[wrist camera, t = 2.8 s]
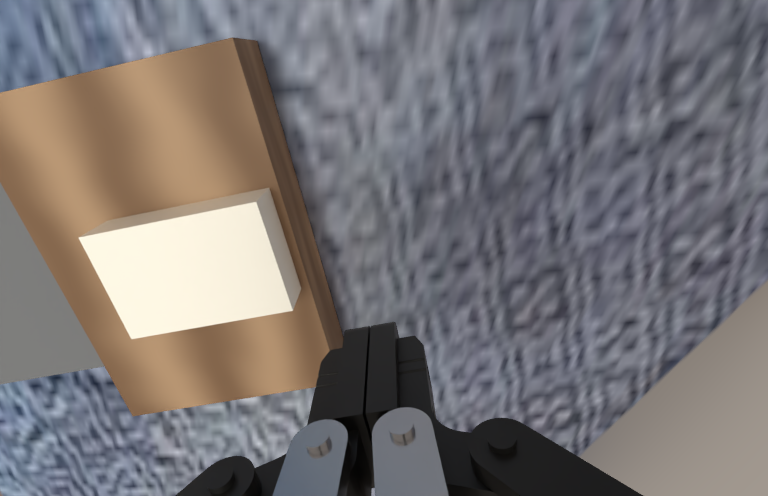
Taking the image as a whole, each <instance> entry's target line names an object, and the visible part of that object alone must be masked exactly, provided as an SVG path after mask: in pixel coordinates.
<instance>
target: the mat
mask: <svg viewBox="0 0 768 496" xmlns="http://www.w3.org/2000/svg"><path fill="white" fill-rule="evenodd" d="M103 366H104V364H103V363H102V361H101V359H100V357H99V356H98V354H97V352H96V350H95V348H94V347H93V345H92V343H91V341H90V340H89V338H88V336H87V334H86V333H85V331H84V329H83V327H82V326H81V324H80V322H79V320H78V319H77V317H76V315H75V313H74V311H73V310H72V308H71V306H70V304H69V303H68V301H67V299H66V297H65V296H64V294H63V292H62V290H61V289H60V287H59V285H58V283H57V282H56V280H55V278H54V276H53V274H52V273H51V271H50V269H49V267H48V266H47V264H46V262H45V260H44V259H43V257H42V255H41V253H40V252H39V250H38V248H37V246H36V245H35V243H34V241H33V239H32V237H31V236H30V234H29V232H28V230H27V229H26V227H25V225H24V223H23V222H22V220H21V218H20V216H19V215H18V213H17V211H16V209H15V208H14V206H13V204H12V202H11V201H10V199H9V197H8V195H7V193H6V192H5V190H4V188H3V186H2V185H1V183H0V384H5V383H10V382H16V381H22V380H28V379H34V378H39V377H45V376H51V375H57V374H63V373H69V372H74V371H80V370H86V369H92V368H98V367H103Z"/></svg>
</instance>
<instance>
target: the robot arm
mask: <svg viewBox="0 0 768 496" xmlns="http://www.w3.org/2000/svg"><path fill="white" fill-rule="evenodd" d="M371 488H375V496H643V495H641V494H639V493H638V492H636V491H634V490H633V489H631V488H629V487H628V486H626V485H624V484H623V483H621V482H619V481H618V480H616V479H614V478H613V477H611V476H609V475H608V474H606V473H604V472H602V471H601V470H599V469H598V468H596V467H594V466H593V465H591V464H589V463H587V462H586V461H584V460H583V459H581V458H579V457H578V456H576V455H574V454H573V453H571V452H569V451H568V450H566V449H564V448H563V447H561V446H559V445H558V444H556V443H554V442H553V441H551V440H549V439H548V438H546V437H544V436H543V435H541V434H539V433H538V432H536V431H534V430H533V429H531V428H529V427H528V426H526V425H524V424H522V423H520V422H518V421H516V420H513V419H508V418H494V419H490V420H487V421H484V422H482V423H480V424H479V425H478V426H476V427H475V429H474V430H473V431H472V433H468V432H461V431H455V430H452V429H449V428H447V427H445V426H444V425H442V424H441V423H440V422H439V421H438V420H437V419H436V414H435V407H434V401H433V393H432V386H431V381H430V376H429V371H428V366H427V361H426V356H425V351H424V346H423V344H422V343H421V342H420V341H419V340H418V339H417V338H416V336H410V337H404V338H399V335H398V330H397V326H396V323H395V322H391V323H385V324H379V325H373V326H371V328H370V326H368V327H362V328H356V329H350V330H345V333H344V340H343V346H342V348H339V349H333V350H330V351H329V352H328V354H327V355H326V356H325V358H324V359H323V360H322V361H321V364H320V369H319V373H318V378H317V383H316V388H315V392H314V397H313V401H312V406H311V410H310V415H309V420H308V424H307V426H305V427H304V428H302V429H301V430H300V431H299V432H298V433H297V434H296V435H295V436H294V438H293V439H292V441H291V443H290V445H289V448H288V451H287V454H285V455H283V456H282V457H279V458H277V459H275V460H273V461H271V462H268V463H266V464H263V465H261V466H259V467H256V468H254V466H253V464H252V462H251V461H250V460H249V459H247V458H245V457H242V456H232V457H228V458H225V459H222V460H220V461H218V462H216V463H214V464H213V465H211V466H210V467H208V468H207V469H206V470H205V471H204V472H202V473H201V474H200V475H199V476H198V477H197V478H195V479H194V480H193V481H192V482H191V483H190V484H189V485H187V486H186V487H185V488H184V489H183V490H182V491H180V492H179V493H178V494H177V495H176V496H371Z"/></svg>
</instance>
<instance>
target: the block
mask: <svg viewBox="0 0 768 496" xmlns="http://www.w3.org/2000/svg"><path fill="white" fill-rule="evenodd" d="M78 238H79V240H80V242H81V244H82V246H83V248H84V249H85V251H86V253H87V255H88V257H89V259H90V261H91V263H92V265H93V267H94V269H95V271H96V272H97V274H98V276H99V278H100V280H101V282H102V284H103V286H104V288H105V290H106V292H107V294H108V295H109V297H110V299H111V301H112V303H113V305H114V307H115V309H116V311H117V313H118V315H119V317H120V318H121V320H122V322H123V324H124V326H125V328H126V330H127V332H128V334H129V336H130V338H131V339H136V338H142V337H147V336H153V335H159V334H164V333H170V332H176V331H181V330H187V329H193V328H198V327H204V326H210V325H215V324H221V323H227V322H232V321H238V320H244V319H249V318H255V317H261V316H266V315H272V314H278V313H283V312H289V311H293V309H294V307H295V304H296V301H297V299H298V296H299V293H300V291H301V286H300V283H299V279H298V276H297V273H296V270H295V267H294V264H293V261H292V258H291V254H290V251H289V248H288V245H287V242H286V239H285V236H284V233H283V229H282V226H281V223H280V220H279V217H278V214H277V211H276V208H275V204H274V201H273V198H272V195H271V192H270V189H269V188H265V189H260V190H255V191H250V192H245V193H240V194H235V195H231V196H226V197H221V198H216V199H211V200H206V201H201V202H196V203H191V204H186V205H181V206H177V207H172V208H167V209H162V210H157V211H152V212H147V213H142V214H137V215H132V216H127V217H123V218H118V219H113V220H108V221H106V222H104V223H102V224H101V225H99V226H97V227H96V228H94V229H92V230H90V231H89V232H87V233H85V234H84V235H82V236H80V237H78Z"/></svg>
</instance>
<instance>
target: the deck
mask: <svg viewBox="0 0 768 496" xmlns="http://www.w3.org/2000/svg"><path fill="white" fill-rule="evenodd" d="M0 183H1V185H2V186H3V188H4V190H5V192H6V193H7V195H8V197H9V199H10V201H11V202H12V204H13V206H14V208H15V209H16V211H17V213H18V215H19V216H20V218H21V220H22V222H23V223H24V225H25V227H26V229H27V230H28V232H29V234H30V236H31V237H32V239H33V241H34V243H35V245H36V246H37V248H38V250H39V252H40V253H41V255H42V257H43V259H44V260H45V262H46V264H47V266H48V267H49V269H50V271H51V273H52V274H53V276H54V278H55V280H56V282H57V283H58V285H59V287H60V289H61V290H62V292H63V294H64V296H65V297H66V299H67V301H68V303H69V304H70V306H71V308H72V310H73V311H74V313H75V315H76V317H77V319H78V320H79V322H80V324H81V326H82V327H83V329H84V331H85V333H86V334H87V336H88V338H89V340H90V341H91V343H92V345H93V347H94V348H95V350H96V352H97V354H98V356H99V357H100V359H101V361H102V363H103V364H104V366H105V368H106V370H107V371H108V373H109V375H110V377H111V378H112V380H113V382H114V384H115V385H116V387H117V389H118V391H119V393H120V394H121V396H122V398H123V400H124V401H125V403H126V405H127V407H128V408H129V410H130V412H131V414H132V415H133V416H137V415H143V414H150V413H156V412H162V411H168V410H175V409H181V408H187V407H193V406H200V405H206V404H212V403H218V402H225V401H231V400H237V399H243V398H250V397H256V396H262V395H268V394H275V393H281V392H287V391H293V390H300V389H306V388H312V387H316V383H317V378H318V373H319V369H320V364H321V361H322V360H323V359H324V358H325V356H326V355H327V354H328V352H329V351H330V350H333V349H339V348H342V346H343V340H344V338H343V335H342V331H341V328H340V324H339V321H338V318H337V314H336V311H335V307H334V304H333V300H332V297H331V294H330V290H329V287H328V283H327V280H326V276H325V273H324V270H323V266H322V263H321V259H320V256H319V252H318V249H317V246H316V242H315V239H314V235H313V232H312V228H311V225H310V222H309V218H308V215H307V211H306V208H305V204H304V201H303V198H302V194H301V191H300V187H299V184H298V180H297V177H296V174H295V170H294V167H293V163H292V160H291V156H290V153H289V150H288V146H287V143H286V139H285V136H284V132H283V129H282V126H281V122H280V119H279V115H278V112H277V108H276V105H275V101H274V98H273V95H272V91H271V88H270V84H269V81H268V77H267V74H266V71H265V67H264V64H263V60H262V57H261V53H260V50H259V47H258V43H257V41H255V40H247V39H239V38H229V39H225V40H221V41H216V42H212V43H208V44H204V45H200V46H195V47H191V48H187V49H183V50H179V51H174V52H170V53H166V54H162V55H157V56H153V57H149V58H145V59H141V60H136V61H132V62H128V63H124V64H120V65H115V66H111V67H107V68H103V69H98V70H94V71H90V72H86V73H82V74H77V75H73V76H69V77H65V78H61V79H56V80H52V81H48V82H44V83H40V84H35V85H31V86H27V87H23V88H18V89H14V90H10V91H6V92H2V93H0ZM265 188H269V189H270V192H271V195H272V198H273V201H274V204H275V208H276V211H277V214H278V217H279V220H280V223H281V226H282V229H283V233H284V236H285V239H286V242H287V245H288V248H289V251H290V254H291V258H292V261H293V264H294V267H295V270H296V273H297V276H298V279H299V283H300V286H301V291H300V293H299V296H298V299H297V301H296V304H295V307H294V309H293V311H289V312H283V313H278V314H272V315H266V316H261V317H255V318H249V319H244V320H238V321H232V322H227V323H221V324H215V325H210V326H204V327H198V328H193V329H187V330H181V331H176V332H170V333H164V334H159V335H153V336H147V337H142V338H136V339H131V338H130V336H129V334H128V332H127V330H126V328H125V326H124V324H123V322H122V320H121V318H120V317H119V315H118V313H117V311H116V309H115V307H114V305H113V303H112V301H111V299H110V297H109V295H108V294H107V292H106V290H105V288H104V286H103V284H102V282H101V280H100V278H99V276H98V274H97V272H96V271H95V269H94V267H93V265H92V263H91V261H90V259H89V257H88V255H87V253H86V251H85V249H84V248H83V246H82V244H81V242H80V240H79V238H78V237H80V236H82V235H84V234H85V233H87V232H89V231H90V230H92V229H94V228H96V227H97V226H99V225H101V224H102V223H104V222H106V221H108V220H113V219H118V218H123V217H127V216H132V215H137V214H142V213H147V212H152V211H157V210H162V209H167V208H172V207H177V206H181V205H186V204H191V203H196V202H201V201H206V200H211V199H216V198H221V197H226V196H231V195H235V194H240V193H245V192H250V191H255V190H260V189H265Z"/></svg>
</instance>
